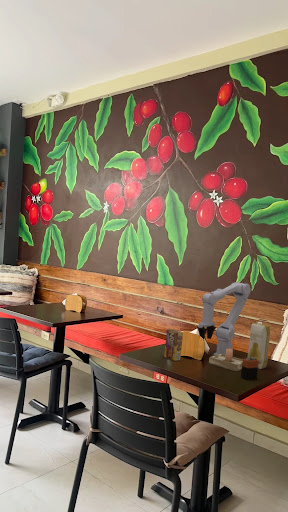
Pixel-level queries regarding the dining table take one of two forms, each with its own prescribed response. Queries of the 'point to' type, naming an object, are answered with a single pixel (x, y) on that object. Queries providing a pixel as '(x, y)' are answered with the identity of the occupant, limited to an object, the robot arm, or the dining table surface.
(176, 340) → the candy box
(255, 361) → the battery
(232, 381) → the dining table surface
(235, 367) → the tray
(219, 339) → the robot arm
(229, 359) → the peg
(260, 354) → the juice carton
